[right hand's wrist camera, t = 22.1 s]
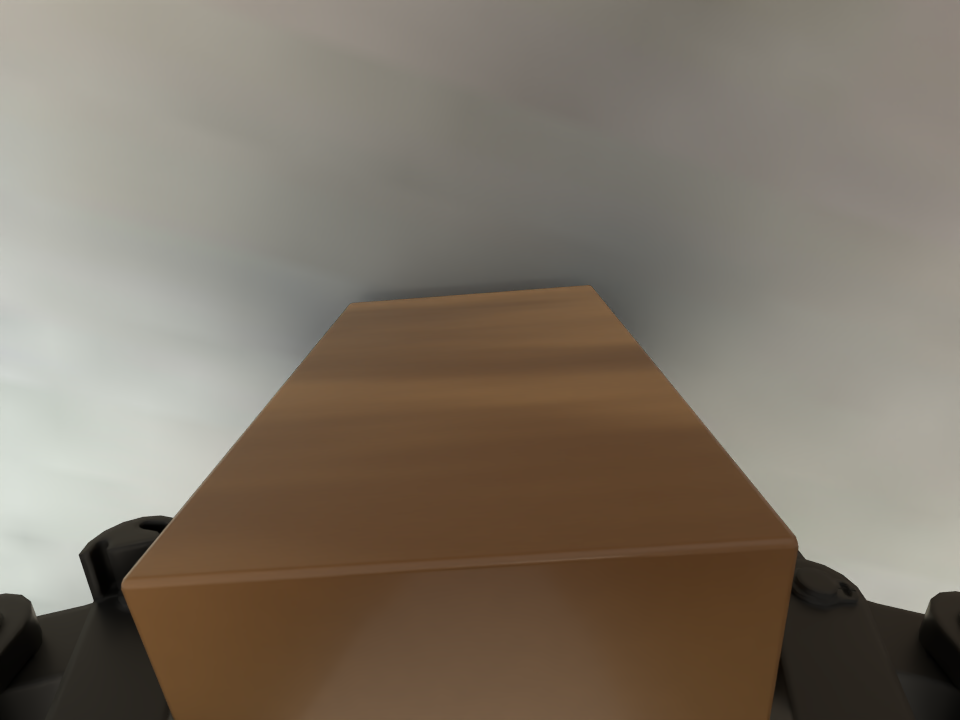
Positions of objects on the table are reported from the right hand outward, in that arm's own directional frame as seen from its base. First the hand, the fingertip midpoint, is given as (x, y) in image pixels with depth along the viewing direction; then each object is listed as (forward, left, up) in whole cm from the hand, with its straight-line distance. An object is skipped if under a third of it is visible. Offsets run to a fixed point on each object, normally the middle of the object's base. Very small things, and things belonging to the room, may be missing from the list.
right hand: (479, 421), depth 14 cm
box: (+6, +6, -1) cm, 8 cm away
